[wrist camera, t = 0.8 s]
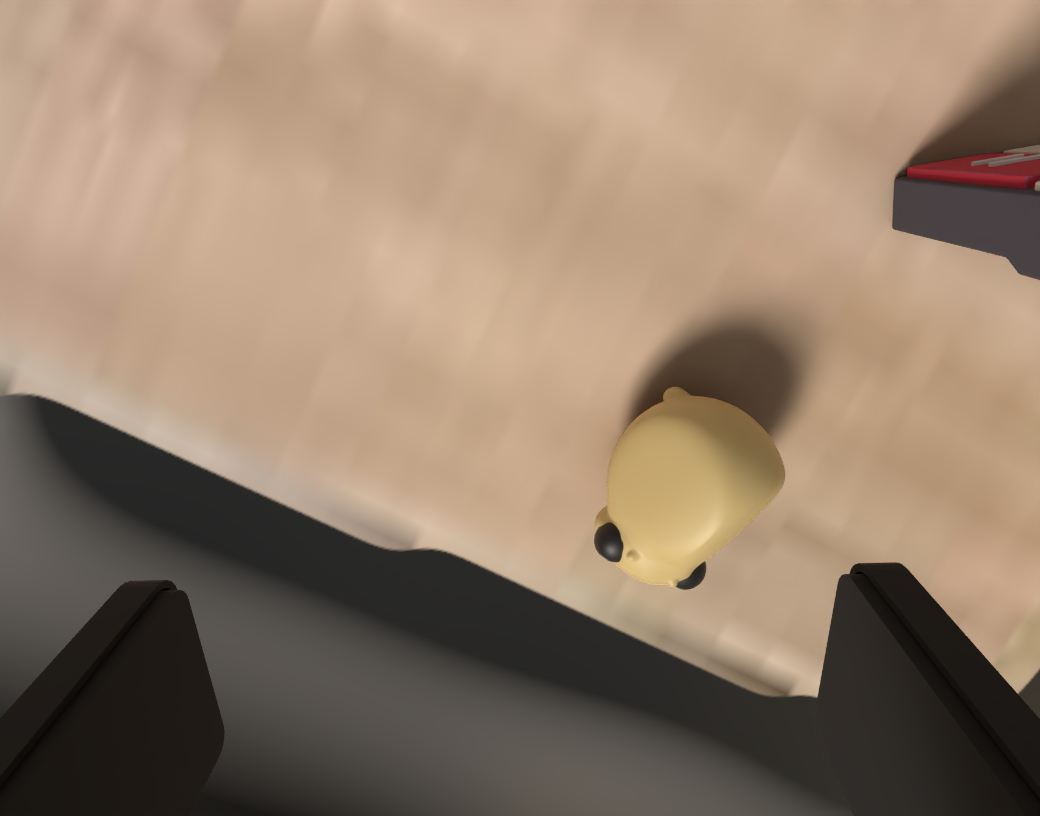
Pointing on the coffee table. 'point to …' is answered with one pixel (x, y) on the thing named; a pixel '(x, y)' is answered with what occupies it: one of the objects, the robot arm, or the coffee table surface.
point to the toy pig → (684, 487)
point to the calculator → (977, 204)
